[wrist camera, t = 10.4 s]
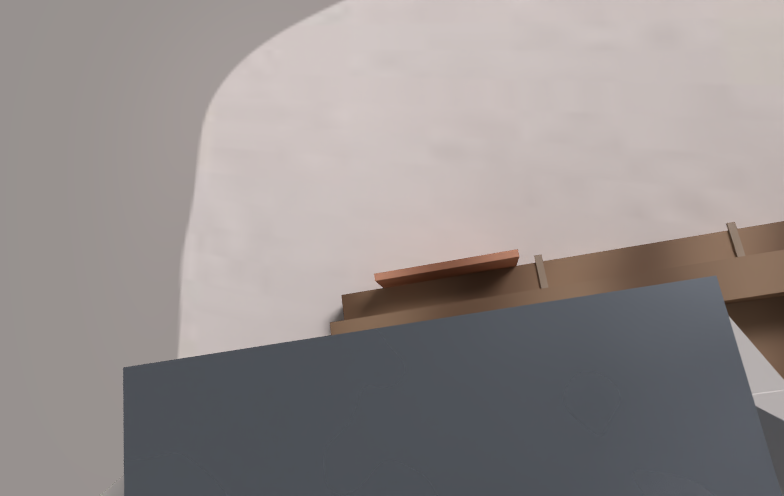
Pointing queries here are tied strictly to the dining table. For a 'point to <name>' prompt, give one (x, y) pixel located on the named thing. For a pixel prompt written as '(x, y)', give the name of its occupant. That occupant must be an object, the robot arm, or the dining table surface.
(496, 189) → the dining table surface
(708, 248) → the tray
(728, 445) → the panel
